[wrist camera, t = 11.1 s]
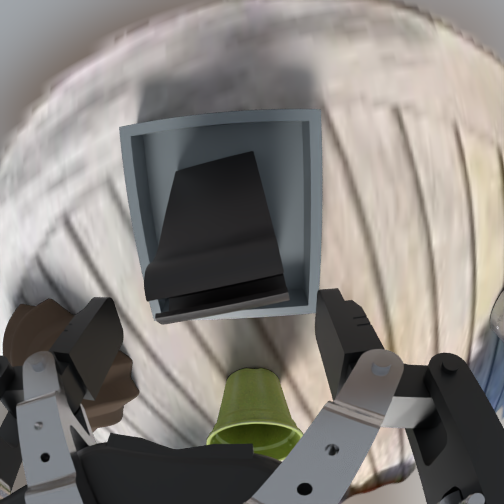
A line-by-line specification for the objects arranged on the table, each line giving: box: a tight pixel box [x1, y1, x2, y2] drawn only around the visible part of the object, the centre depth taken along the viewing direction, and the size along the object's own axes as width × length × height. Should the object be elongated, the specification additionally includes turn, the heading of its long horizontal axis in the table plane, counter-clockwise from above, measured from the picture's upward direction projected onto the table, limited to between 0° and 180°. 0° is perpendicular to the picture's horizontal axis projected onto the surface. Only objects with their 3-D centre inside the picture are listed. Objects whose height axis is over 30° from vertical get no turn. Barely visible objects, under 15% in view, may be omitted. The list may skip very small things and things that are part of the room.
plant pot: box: [206, 368, 304, 461], centre depth 28 cm, size 9×9×9 cm
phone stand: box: [144, 151, 290, 324], centre depth 18 cm, size 9×6×12 cm, turn 13°
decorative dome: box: [3, 299, 139, 432], centre depth 27 cm, size 19×20×10 cm
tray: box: [119, 109, 322, 321], centre depth 22 cm, size 14×16×4 cm
